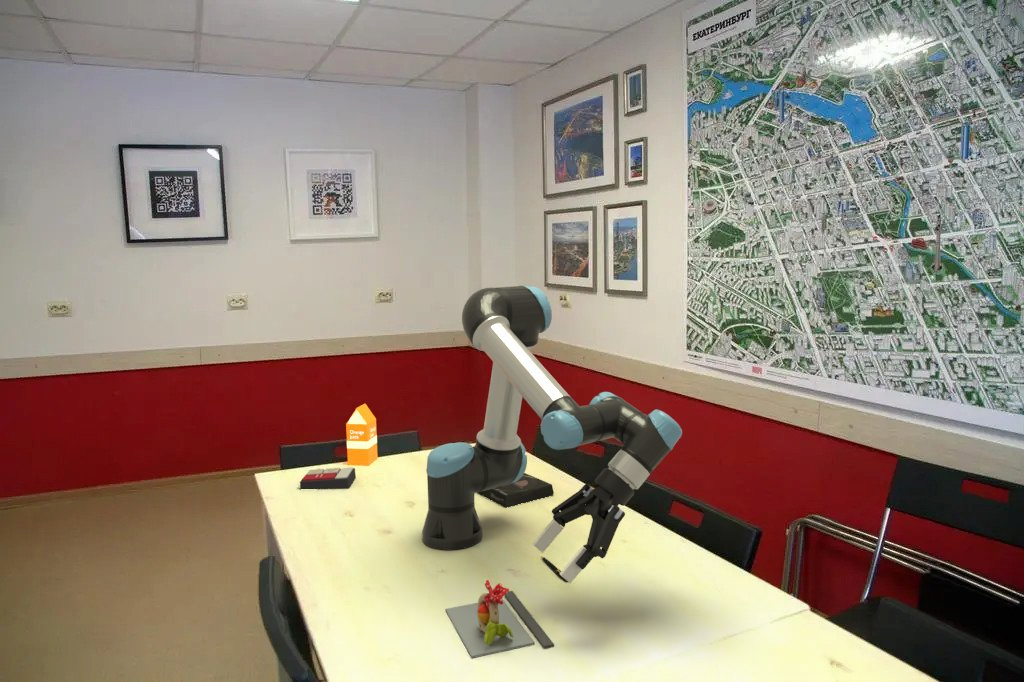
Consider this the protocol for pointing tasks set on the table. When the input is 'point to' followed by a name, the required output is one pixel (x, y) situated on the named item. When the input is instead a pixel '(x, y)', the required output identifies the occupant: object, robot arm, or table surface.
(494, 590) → the bird rattle
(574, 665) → the table surface
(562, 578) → the fountain pen
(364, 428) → the orange juice
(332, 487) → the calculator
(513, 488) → the black flat box
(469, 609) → the mat
